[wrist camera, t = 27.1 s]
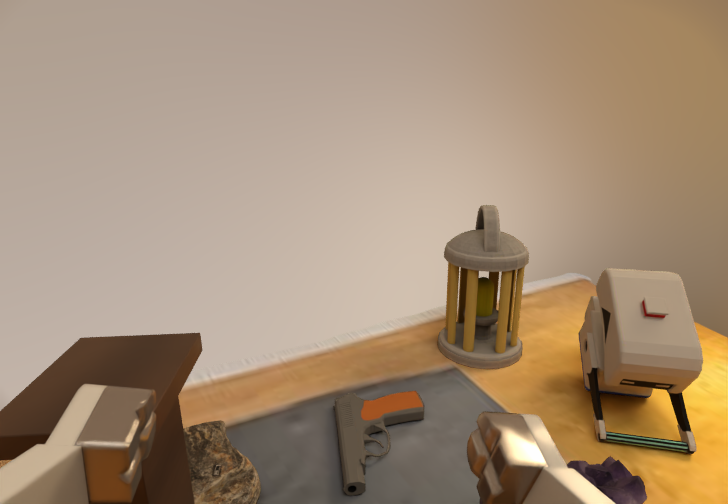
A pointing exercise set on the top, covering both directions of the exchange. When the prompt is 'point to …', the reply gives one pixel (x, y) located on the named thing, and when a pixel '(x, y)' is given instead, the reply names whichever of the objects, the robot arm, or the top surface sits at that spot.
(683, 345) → the robotic device
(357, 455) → the handgun
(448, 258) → the lantern
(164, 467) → the stand
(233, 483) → the stone
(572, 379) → the top surface
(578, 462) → the geode
